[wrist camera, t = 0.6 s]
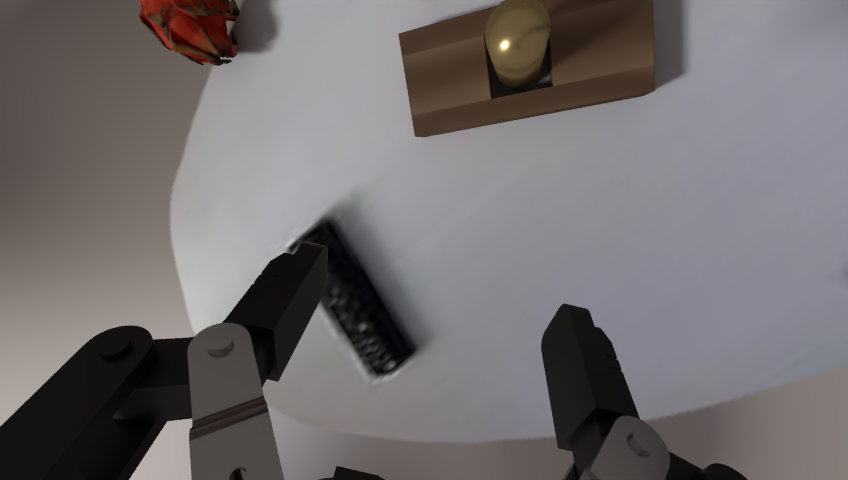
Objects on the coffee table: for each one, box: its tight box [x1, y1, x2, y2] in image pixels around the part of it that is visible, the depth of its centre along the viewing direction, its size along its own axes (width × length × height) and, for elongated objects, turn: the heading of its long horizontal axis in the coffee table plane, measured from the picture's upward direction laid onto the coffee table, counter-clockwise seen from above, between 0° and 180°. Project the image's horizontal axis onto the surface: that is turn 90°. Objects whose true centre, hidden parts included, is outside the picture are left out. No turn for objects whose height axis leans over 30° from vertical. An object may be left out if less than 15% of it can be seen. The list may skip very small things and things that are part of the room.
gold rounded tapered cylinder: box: [485, 0, 550, 91], centre depth 28 cm, size 4×4×11 cm
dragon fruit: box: [139, 0, 240, 66], centre depth 36 cm, size 8×8×12 cm
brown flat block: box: [399, 0, 655, 137], centre depth 31 cm, size 9×20×3 cm, turn 100°
